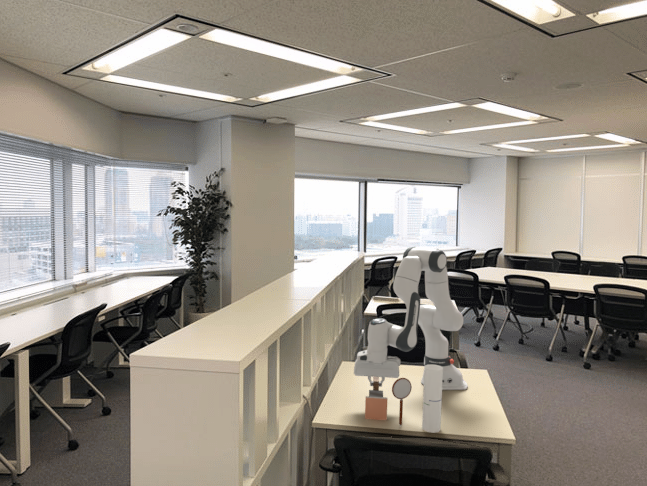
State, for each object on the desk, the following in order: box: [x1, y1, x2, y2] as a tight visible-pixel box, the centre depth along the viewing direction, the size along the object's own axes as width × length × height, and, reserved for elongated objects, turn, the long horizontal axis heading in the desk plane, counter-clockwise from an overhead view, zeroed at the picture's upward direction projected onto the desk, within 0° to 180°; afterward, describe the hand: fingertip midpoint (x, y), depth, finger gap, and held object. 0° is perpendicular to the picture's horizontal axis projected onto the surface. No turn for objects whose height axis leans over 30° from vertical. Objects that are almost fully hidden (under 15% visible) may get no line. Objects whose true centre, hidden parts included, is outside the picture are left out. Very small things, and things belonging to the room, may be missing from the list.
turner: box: [368, 377, 384, 397], centre depth 222 cm, size 22×6×4 cm, turn 174°
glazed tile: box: [364, 395, 388, 421], centre depth 207 cm, size 9×2×9 cm, turn 84°
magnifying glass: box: [391, 377, 412, 427], centre depth 200 cm, size 9×2×20 cm, turn 110°
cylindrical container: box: [421, 364, 443, 433], centre depth 198 cm, size 7×7×25 cm
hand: (375, 386), depth 222 cm, fingers closed on turner, 2 cm apart
